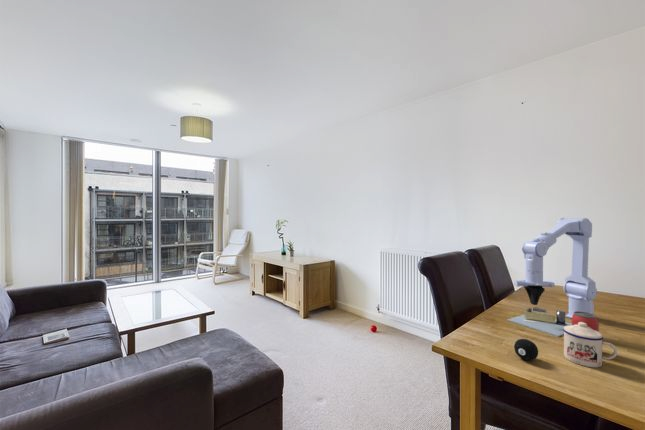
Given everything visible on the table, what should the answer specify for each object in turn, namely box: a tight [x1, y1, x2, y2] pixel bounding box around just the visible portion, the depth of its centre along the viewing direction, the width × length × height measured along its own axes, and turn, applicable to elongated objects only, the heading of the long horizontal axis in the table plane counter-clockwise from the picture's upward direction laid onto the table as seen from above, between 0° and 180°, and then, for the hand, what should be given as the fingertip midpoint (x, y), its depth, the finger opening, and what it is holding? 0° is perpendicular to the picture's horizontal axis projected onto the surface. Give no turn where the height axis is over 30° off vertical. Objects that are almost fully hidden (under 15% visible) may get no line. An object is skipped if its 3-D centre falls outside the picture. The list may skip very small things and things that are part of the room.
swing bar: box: [524, 307, 556, 323], centre depth 118 cm, size 10×2×4 cm, turn 60°
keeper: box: [532, 307, 547, 313], centre depth 124 cm, size 2×4×3 cm, turn 28°
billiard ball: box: [513, 338, 539, 361], centre depth 87 cm, size 6×6×6 cm
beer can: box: [571, 311, 600, 333], centre depth 93 cm, size 7×7×12 cm
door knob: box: [555, 310, 567, 326], centre depth 115 cm, size 4×4×5 cm
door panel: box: [506, 313, 572, 338], centre depth 116 cm, size 19×18×1 cm
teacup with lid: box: [563, 322, 618, 368], centre depth 86 cm, size 12×9×12 cm
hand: (533, 304), depth 115 cm, fingers closed
